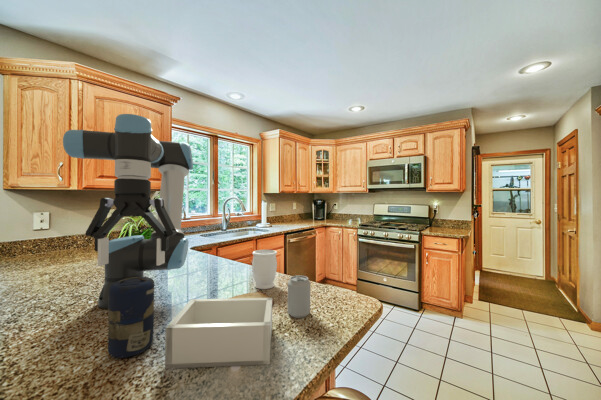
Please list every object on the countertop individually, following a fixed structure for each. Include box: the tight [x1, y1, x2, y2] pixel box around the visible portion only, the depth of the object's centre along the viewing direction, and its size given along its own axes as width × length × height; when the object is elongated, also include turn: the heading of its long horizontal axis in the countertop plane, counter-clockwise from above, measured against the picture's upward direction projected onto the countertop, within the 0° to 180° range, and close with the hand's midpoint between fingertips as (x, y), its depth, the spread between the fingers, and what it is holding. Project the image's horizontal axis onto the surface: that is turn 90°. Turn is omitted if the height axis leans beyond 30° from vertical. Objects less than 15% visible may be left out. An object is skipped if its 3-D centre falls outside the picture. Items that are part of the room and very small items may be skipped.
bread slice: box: [227, 291, 275, 305], centre depth 88 cm, size 18×18×4 cm
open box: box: [164, 297, 273, 370], centre depth 64 cm, size 23×16×9 cm
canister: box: [107, 276, 155, 359], centre depth 63 cm, size 10×10×18 cm
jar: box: [251, 249, 278, 290], centre depth 109 cm, size 11×10×15 cm
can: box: [287, 274, 311, 319], centre depth 83 cm, size 8×8×12 cm
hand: (132, 264), depth 62 cm, fingers open, 13 cm apart
